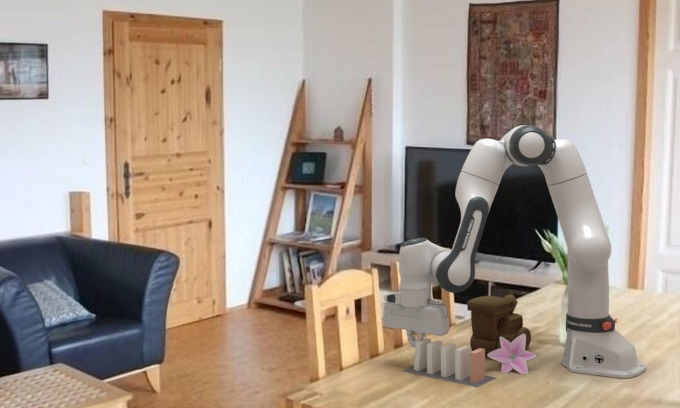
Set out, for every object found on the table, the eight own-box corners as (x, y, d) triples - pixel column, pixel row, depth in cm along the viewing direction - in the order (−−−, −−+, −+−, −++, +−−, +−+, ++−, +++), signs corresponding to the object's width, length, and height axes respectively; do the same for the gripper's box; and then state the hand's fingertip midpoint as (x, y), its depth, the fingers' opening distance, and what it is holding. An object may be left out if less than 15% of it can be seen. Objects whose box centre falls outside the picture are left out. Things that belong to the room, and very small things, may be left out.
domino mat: (497, 379, 246) (497, 377, 245) (477, 389, 238) (477, 387, 238) (422, 364, 261) (422, 362, 261) (401, 373, 253) (401, 371, 253)
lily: (481, 374, 254) (485, 349, 248) (500, 349, 262) (504, 324, 256) (521, 393, 249) (526, 368, 243) (539, 367, 257) (544, 342, 251)
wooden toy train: (497, 363, 261) (497, 305, 259) (464, 356, 269) (464, 300, 267) (534, 348, 276) (535, 293, 274) (501, 341, 283) (501, 288, 281)
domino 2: (442, 369, 254) (442, 341, 253) (432, 374, 250) (431, 345, 249) (437, 368, 255) (437, 340, 254) (427, 373, 251) (426, 344, 250)
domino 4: (470, 375, 248) (470, 346, 247) (460, 380, 244) (460, 350, 243) (465, 374, 249) (465, 345, 248) (455, 379, 245) (455, 349, 244)
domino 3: (456, 372, 251) (456, 343, 250) (446, 377, 247) (445, 347, 246) (451, 371, 252) (451, 342, 251) (441, 376, 248) (440, 346, 247)
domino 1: (428, 366, 256) (431, 339, 255) (418, 371, 253) (420, 343, 251) (424, 365, 257) (426, 337, 256) (413, 369, 254) (415, 341, 252)
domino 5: (485, 378, 245) (485, 349, 244) (475, 383, 241) (475, 353, 240) (479, 377, 246) (479, 348, 245) (469, 382, 242) (469, 352, 241)
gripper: (453, 299, 250) (454, 349, 251) (392, 291, 263) (393, 338, 264) (440, 304, 245) (441, 355, 246) (379, 295, 258) (380, 343, 260)
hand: (416, 346), depth 256 cm, fingers closed
